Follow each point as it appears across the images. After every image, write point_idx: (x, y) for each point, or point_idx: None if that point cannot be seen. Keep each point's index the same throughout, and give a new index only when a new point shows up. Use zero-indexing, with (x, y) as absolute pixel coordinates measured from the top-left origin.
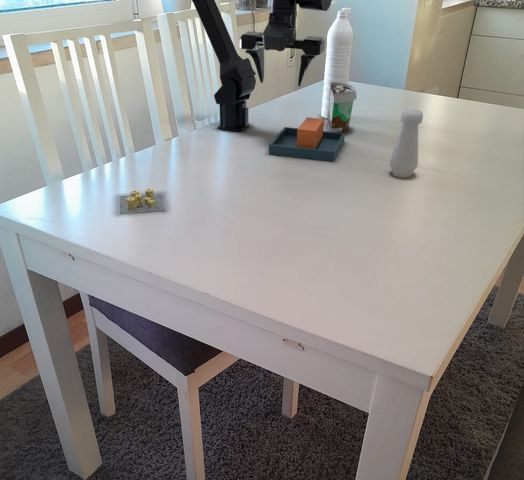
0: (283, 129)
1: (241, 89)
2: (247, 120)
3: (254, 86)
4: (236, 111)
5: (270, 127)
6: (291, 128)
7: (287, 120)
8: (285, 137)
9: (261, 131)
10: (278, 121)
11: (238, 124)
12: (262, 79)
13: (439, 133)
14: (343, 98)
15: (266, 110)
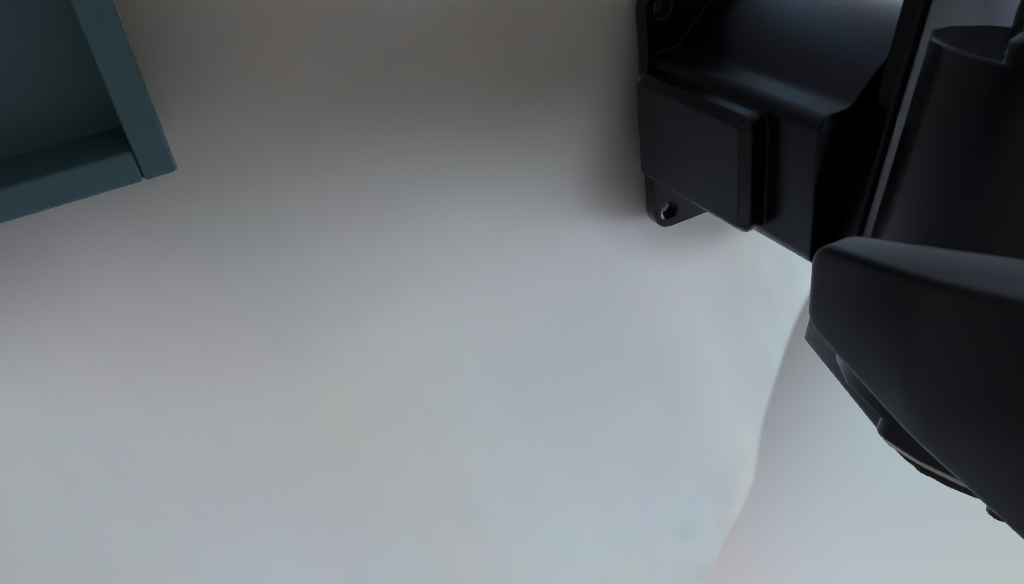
0: (114, 59)
1: (1013, 37)
2: (664, 155)
3: (864, 387)
4: (815, 52)
5: (450, 286)
6: (53, 176)
7: (413, 526)
8: (45, 9)
9: (468, 128)
10: (466, 457)
11: (706, 38)
12: (865, 290)
13: None
14: None
15: (650, 567)
